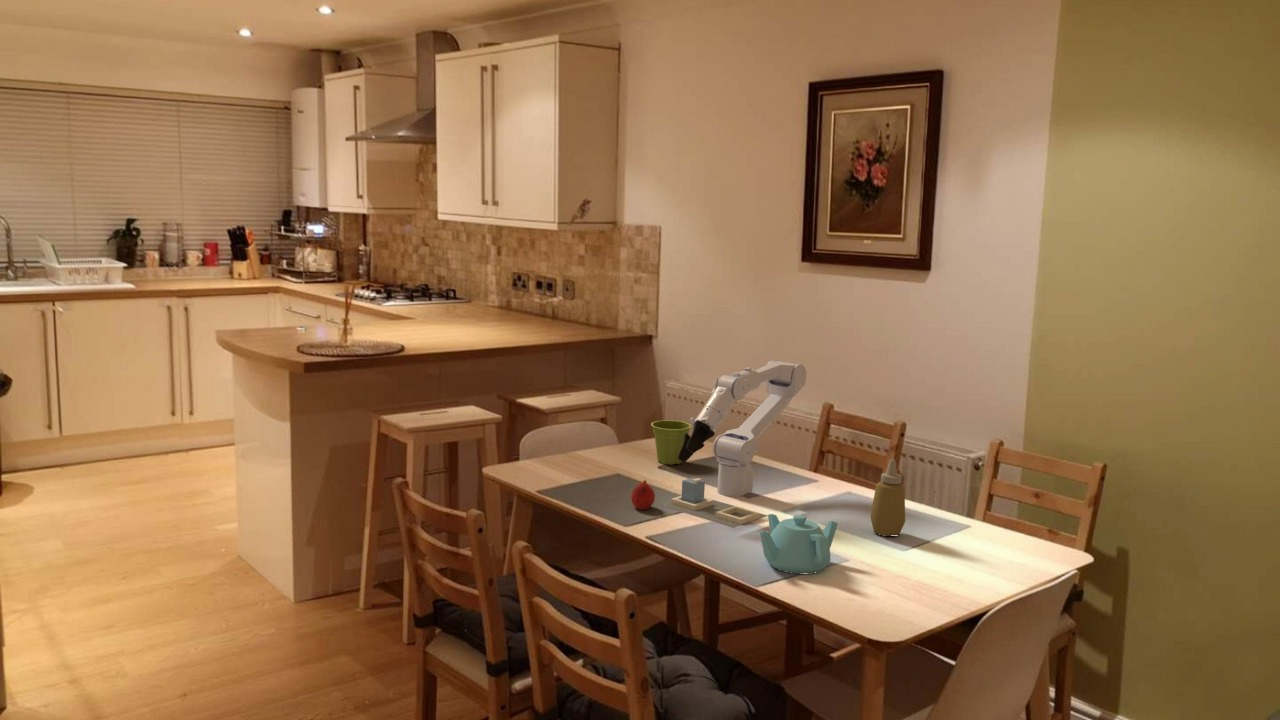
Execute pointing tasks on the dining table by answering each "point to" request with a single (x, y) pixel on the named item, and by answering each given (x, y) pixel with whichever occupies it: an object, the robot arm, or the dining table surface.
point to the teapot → (797, 544)
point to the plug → (693, 490)
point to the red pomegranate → (642, 496)
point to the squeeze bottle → (889, 503)
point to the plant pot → (669, 439)
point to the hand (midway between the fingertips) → (685, 455)
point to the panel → (715, 511)
